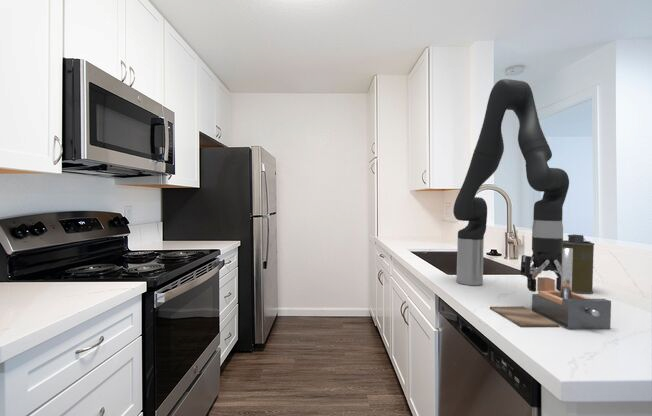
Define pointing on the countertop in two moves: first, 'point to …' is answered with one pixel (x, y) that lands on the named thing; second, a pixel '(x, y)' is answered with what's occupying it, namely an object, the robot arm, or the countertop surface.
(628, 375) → the countertop surface
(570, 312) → the block
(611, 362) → the countertop surface
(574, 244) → the canister
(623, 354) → the countertop surface
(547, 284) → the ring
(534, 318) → the board
